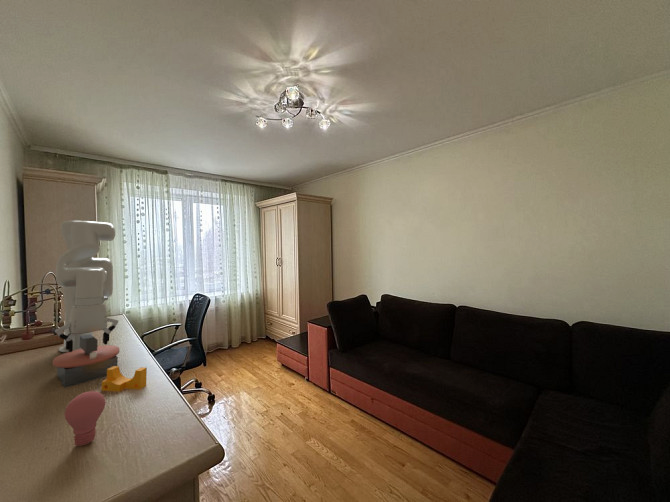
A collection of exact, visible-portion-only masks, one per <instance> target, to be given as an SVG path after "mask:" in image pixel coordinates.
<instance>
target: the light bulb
mask: <svg viewBox="0 0 670 502" xmlns="http://www.w3.org/2000/svg"><path fill="white" fill-rule="evenodd" d="M105 407H106V398H105V396H104V394H102V393H100V392H99V391H93V390H91V391H85V392H82V393H80V394H78V395H76V396H75V397H74V398H73V399H72V400H70V402H68V404H67V405H66V407H65V411H64V419H65V421H66V422H67V423H68V425H69V426H70V428H72V429H73V434H74V436H73V437H74V439H73V441H74V446H85V445H88V444H90V443H91V442H93V441H94V440H95V438H96V430H97V429H96V428H97V426H98V424H97V421H98V420H99V419H100V417H101V416H102V413H103V411H104V410H105Z"/></svg>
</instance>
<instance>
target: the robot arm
mask: <svg viewBox="0 0 670 502" xmlns="http://www.w3.org/2000/svg"><path fill="white" fill-rule="evenodd" d="M60 233H61V236H62V238H63V241H64V243H65V244H66V247H67V250H66V251H65V252H64V253H62V254H61V255H60V256H59V258H58V260H57V261H56V265H55V282H56V284H57V285H58V286H59V287H61V288H62V296H63V300H64V325H62V326H60V327H58V328H56V329H55V330H54V332H55V334H57V336H58V337H59V338H60V339H62V340H64V341H63V344H64V345H62V346H60V347H59V348H58V349H59V350H58V351H59V352H62V353H67V352H72V351H74V350H78V349H82V348H81V347H80V336H84V335H89V334H91V335H92V336H93V334H94V333H93V332H98V331H103V333H102V344H104V345H108V342H110V334H111V332H113V330H115V328H116V327H117V325H118V323H119V320H118V319H114V318H111V317H108V312H107V307H106V303H104V302H105V301H108V300H109V298H110V297H112V295H113V293H114V292H113V290H114V279H113V277H114V268H113V262H112V260H110V259H109V258H107V257H94V256H96V255H98V254H99V252H100V242H102V241H103V242H111V241H113V240H115V239H116V238H115V237H116V228H115V226H114V225H113V223H111V222H103V221H90V220H65V221H63V222H61V225H60ZM108 322H109V323H111V325H110V326H109V327H108ZM107 327H108V328H107Z"/></svg>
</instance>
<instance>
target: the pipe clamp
mask: <svg viewBox="0 0 670 502" xmlns="http://www.w3.org/2000/svg"><path fill="white" fill-rule="evenodd" d="M147 369H148V368H147V367H139V368H138V369H135V370H134V374H133V376H132V378H128V377H126V376H124V375H123V374H122V372H121V370H120V366H119V365H117V366H113V367H111V368H109V369H107V376H106V378H105V379H104V380H102V381H101V392H119V393H120V392H122V391H123V390H139V391H140V390H142V389H143V388H145V387H147V372H148V371H147Z"/></svg>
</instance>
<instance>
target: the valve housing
mask: <svg viewBox="0 0 670 502" xmlns="http://www.w3.org/2000/svg"><path fill="white" fill-rule="evenodd" d="M118 358H119V357H118V355H116V356H114V357H112V358H110V359H108V360H105V361H102V362H98V363H95V364H90V365H86V366H80V367H71V368H59V367H56V369H57V370H56V376H57V378H58V379H59V382H60V383H61V384H62V387H64V388H65V389H66V388H70V387H73V386H76V385H80V384H83V383H86V382H91V381H93V380H97V379H100V378H104V377H107V369H109V368H111V367H113V366H118V362H119V360H118Z"/></svg>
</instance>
